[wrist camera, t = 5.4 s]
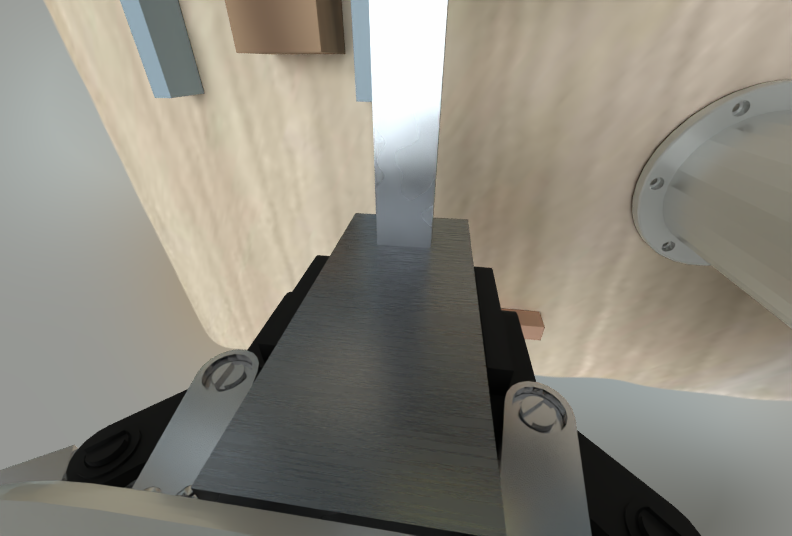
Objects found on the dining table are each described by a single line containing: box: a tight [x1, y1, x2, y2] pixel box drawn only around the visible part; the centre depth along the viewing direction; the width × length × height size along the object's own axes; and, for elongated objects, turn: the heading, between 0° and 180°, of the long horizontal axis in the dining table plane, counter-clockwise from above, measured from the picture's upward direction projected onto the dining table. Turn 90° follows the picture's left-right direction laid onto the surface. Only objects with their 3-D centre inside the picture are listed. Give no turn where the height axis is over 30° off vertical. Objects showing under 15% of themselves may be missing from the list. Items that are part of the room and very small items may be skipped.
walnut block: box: [225, 0, 345, 54], centre depth 19 cm, size 5×5×5 cm
